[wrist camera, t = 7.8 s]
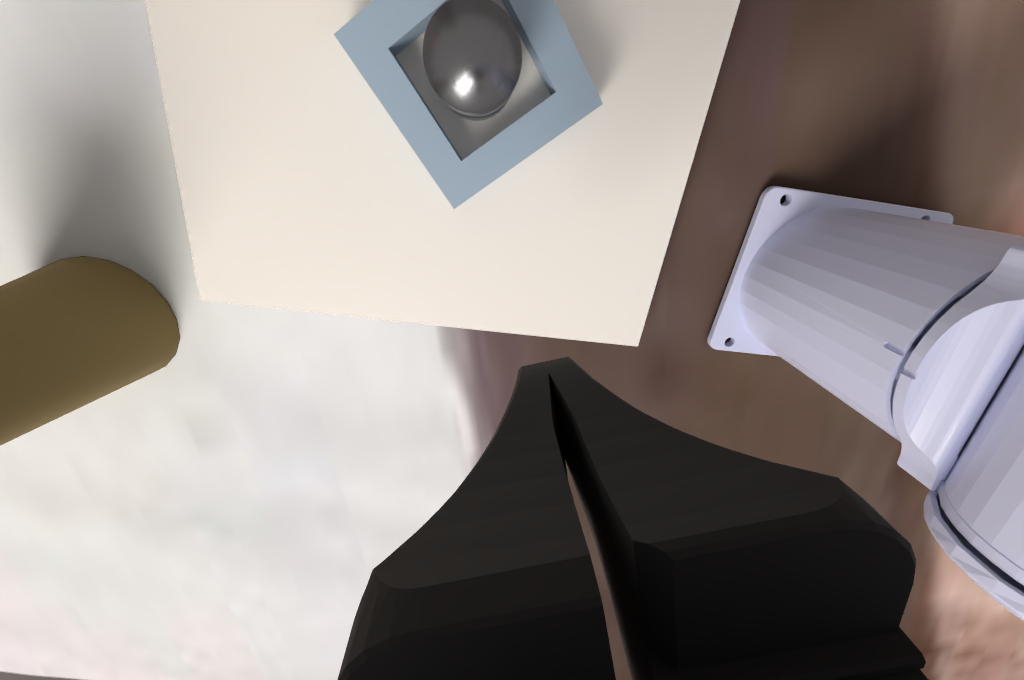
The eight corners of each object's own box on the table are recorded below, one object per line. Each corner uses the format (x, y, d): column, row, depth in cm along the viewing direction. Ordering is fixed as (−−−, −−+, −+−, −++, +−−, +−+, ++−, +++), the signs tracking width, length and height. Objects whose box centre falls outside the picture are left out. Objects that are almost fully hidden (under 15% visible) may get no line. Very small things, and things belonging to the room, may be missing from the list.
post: (516, 46, 16) (529, 5, 11) (506, 127, 17) (514, 120, 12) (442, 32, 15) (425, -15, 11) (437, 116, 17) (420, 105, 12)
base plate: (820, -335, 12) (853, -381, 11) (630, 336, 21) (637, 346, 20) (74, -569, 10) (24, -657, 9) (216, 292, 19) (200, 300, 18)
